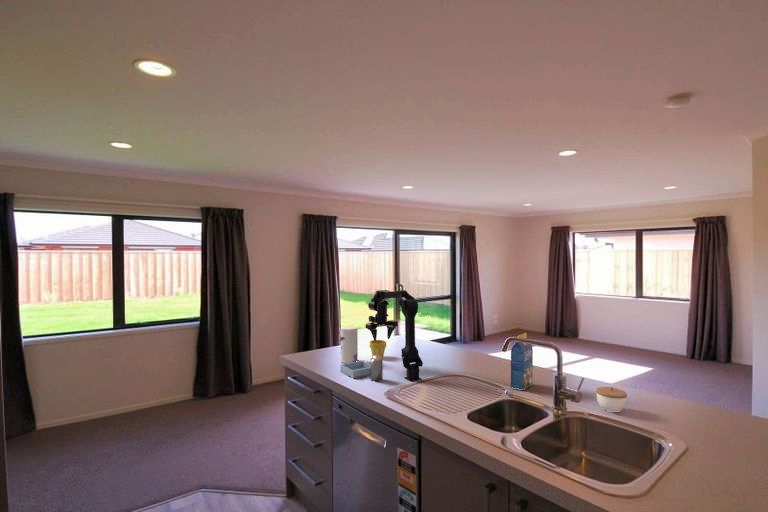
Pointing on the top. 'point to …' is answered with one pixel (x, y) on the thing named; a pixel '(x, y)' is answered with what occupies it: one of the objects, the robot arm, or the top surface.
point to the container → (349, 344)
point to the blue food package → (521, 364)
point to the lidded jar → (611, 398)
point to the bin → (356, 369)
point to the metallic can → (376, 368)
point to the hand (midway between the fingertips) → (381, 339)
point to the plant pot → (378, 347)
